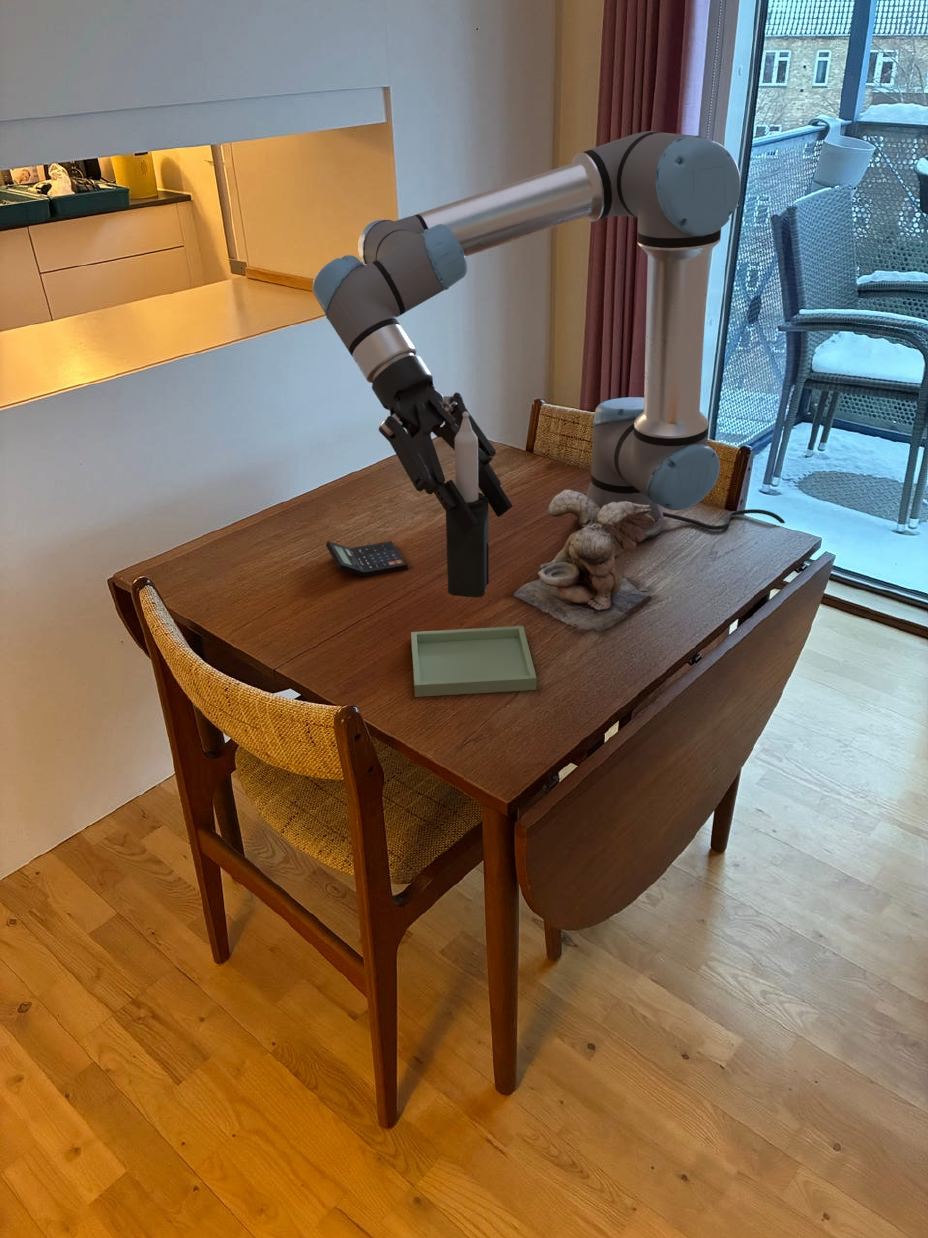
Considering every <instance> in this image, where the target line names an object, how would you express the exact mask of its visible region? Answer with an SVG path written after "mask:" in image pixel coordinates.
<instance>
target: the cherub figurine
mask: <svg viewBox="0 0 928 1238" xmlns="http://www.w3.org/2000/svg"><path fill="white" fill-rule="evenodd" d="M548 505H549V506H548V509H547V514H548V515H549V516H551V517H554V518H557V517H561V516H564V515H566V514H572V515H574V516H575V517H576V518H577V520H578V519H579V521H580V523H581V525H582V527H583V528H582V529H581V528H580V529H578V530H575V531H573V532H572V533H570V535H569V536H568V538H567V540H566V542H565V543H564V546H563V548H562V549H561V550H560V551H559V552H558V553H557V554H556V556H555V557H554V559H553V560H551V561H550V562H546V563H543V564H540V566H539V568H538V572H537V575H538V576H539V579H535V580H532V581H529V582H527V583H525V584H523V585H521V586H520V587H519V588H518V589H517V590H516V591H515V592H514V593H513V595H512V597H515V598H517V599H519V600H521V601H524V602H525V603H528V604H529V605H531V606H533V607H536V608H538V609H539V610H540V611H541V612H542V613H545V614H549V615H550V616H552V618H554V619H557V620H558V621H561V622H562V623H564V624H566V625H569V626H571V629H573V628H577V630H576V631H577V632H579V633H586V632H588V631H589V632H590V631H595V632H597V633H599V634H602V630H605V629H609V628H612V627H613V626H614V625H616V624H617V623H619V622H620V621H622V620H623V619H624V618H626V617H628V616H629V615H630V614H632V613H633V612H635V611H636V610H638V609H639V608H640V607H642V606H643V605H645V604H646V603H647V602H649V601H650V600H651V599H653V597H652V595H649V594H647V593H646V594H645V593H643V592H646V591H647V592H648V591H649V589H648V588H645V587H643V586H640V587H639V589H638V588H636V587H635V586H634V585H633V584H632V583H631V581H629V580H628V579H626V578H623V577H622V574H621V572H620V571H619V570H618V569H617V567H616V566H615V559H618V560H619V559H622V558H623V557H624V554H625V551H628V550H632V549H636V548H638V547H637V543H641V542H642V540H643V539H645V538H647V534H646V533H645V532H644V529H649V528H652V527H653V526H654V524H655V520H654V519H653V518H652V516H650V515H649V514H648V512H650V511H651V508H650V505H640V504H635V503H631V502H628V501H624V502H617V503H616V502H612V503H609V504H607V505H604V506H603V507H602V508H601V509H600V508H599V507H598V506H597V505H596V504H595V502H594V501H592V500H591V499H589V498H588V497H587V496H586V494H584V493H582V492H579V491H576V490H572V489H563V491H561V492H560V493H559V494H556V495H555V496H554V497H553V498H552V500H551V502H550V503H549V504H548ZM643 541H644V540H643Z"/></svg>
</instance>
